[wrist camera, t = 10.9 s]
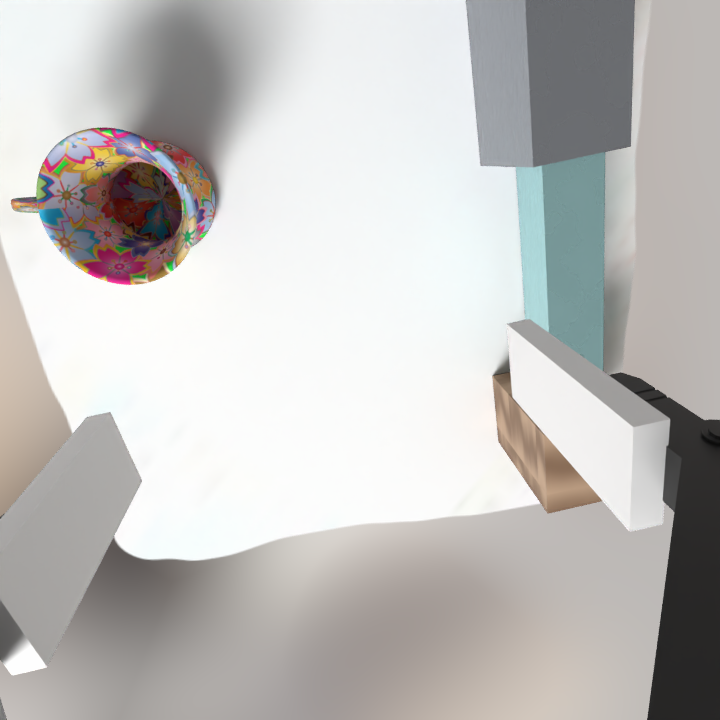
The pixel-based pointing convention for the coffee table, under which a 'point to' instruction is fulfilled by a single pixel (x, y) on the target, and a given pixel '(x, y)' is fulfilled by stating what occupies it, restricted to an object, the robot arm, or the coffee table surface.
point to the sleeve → (551, 78)
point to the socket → (537, 454)
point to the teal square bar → (565, 250)
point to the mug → (121, 204)
